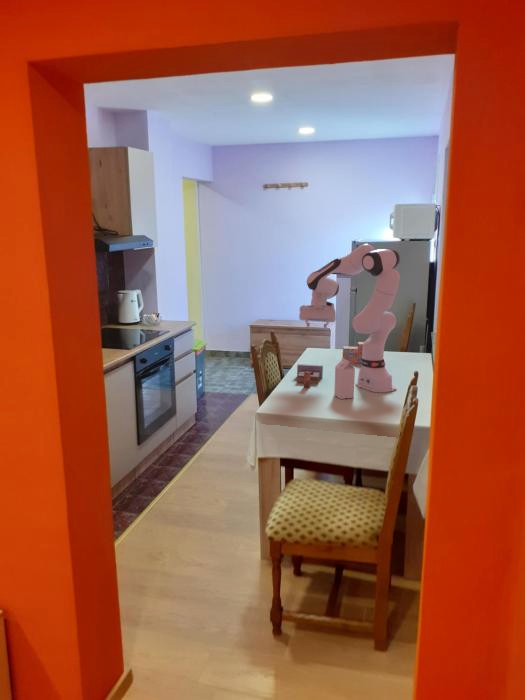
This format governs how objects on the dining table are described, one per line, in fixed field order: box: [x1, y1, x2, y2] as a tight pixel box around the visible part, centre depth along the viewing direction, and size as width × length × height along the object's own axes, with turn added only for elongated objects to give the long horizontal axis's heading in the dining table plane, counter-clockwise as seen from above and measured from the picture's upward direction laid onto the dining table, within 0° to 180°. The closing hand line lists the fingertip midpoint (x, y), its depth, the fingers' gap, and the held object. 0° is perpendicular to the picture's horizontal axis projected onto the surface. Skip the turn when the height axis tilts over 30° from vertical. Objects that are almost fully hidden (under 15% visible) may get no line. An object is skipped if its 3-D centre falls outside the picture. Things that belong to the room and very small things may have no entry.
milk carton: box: [333, 357, 356, 400], centre depth 282 cm, size 7×7×19 cm
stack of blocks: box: [342, 341, 365, 364], centre depth 353 cm, size 21×6×12 cm, turn 86°
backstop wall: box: [296, 364, 324, 379], centre depth 318 cm, size 2×14×7 cm, turn 81°
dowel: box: [303, 372, 311, 389], centre depth 299 cm, size 3×3×8 cm
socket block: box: [297, 371, 321, 385], centre depth 311 cm, size 11×11×4 cm
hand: (316, 326), depth 314 cm, fingers open, 8 cm apart
